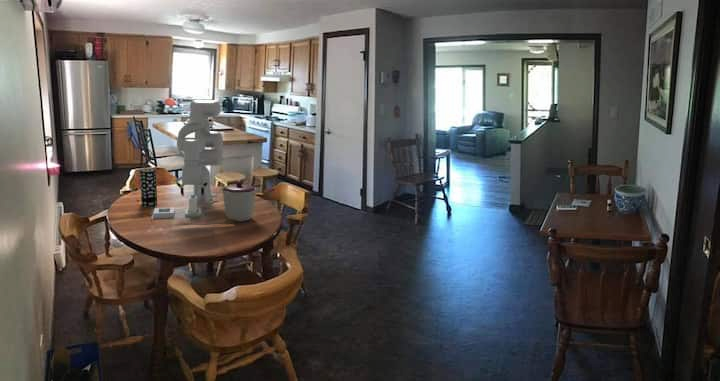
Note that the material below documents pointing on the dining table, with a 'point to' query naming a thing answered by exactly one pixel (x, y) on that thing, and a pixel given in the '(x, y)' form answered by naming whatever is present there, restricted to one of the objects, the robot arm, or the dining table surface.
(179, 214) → the patch panel
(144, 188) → the white-spotted black cylinder
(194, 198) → the plug
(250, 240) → the dining table surface
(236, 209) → the canister
